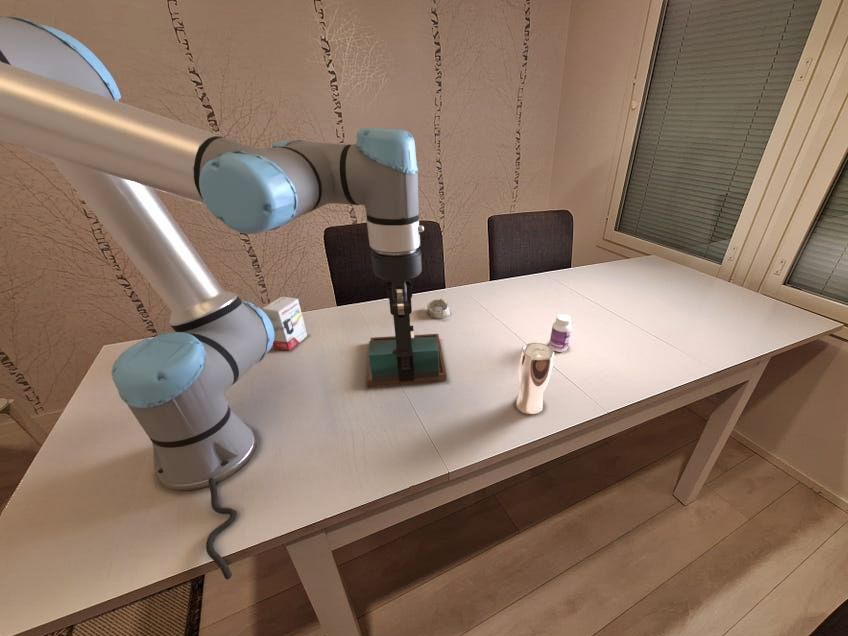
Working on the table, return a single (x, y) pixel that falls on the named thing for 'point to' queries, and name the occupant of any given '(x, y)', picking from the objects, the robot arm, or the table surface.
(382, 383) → the tray
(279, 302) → the ink box
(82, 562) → the table surface
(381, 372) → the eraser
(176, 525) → the table surface
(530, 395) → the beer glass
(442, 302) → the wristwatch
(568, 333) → the pill bottle
